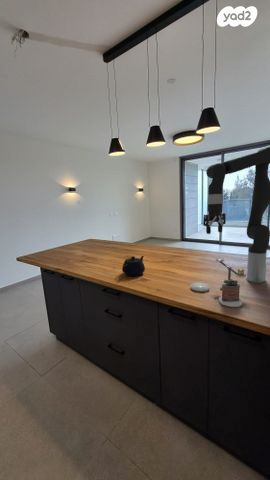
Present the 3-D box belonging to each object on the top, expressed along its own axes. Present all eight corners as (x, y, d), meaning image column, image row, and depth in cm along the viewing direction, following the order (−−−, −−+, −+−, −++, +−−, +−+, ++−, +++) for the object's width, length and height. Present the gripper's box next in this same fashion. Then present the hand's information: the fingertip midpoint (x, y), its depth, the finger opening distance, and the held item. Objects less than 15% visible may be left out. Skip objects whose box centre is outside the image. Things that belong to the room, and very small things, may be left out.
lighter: (237, 298, 101) (238, 278, 99) (240, 301, 97) (241, 280, 96) (220, 298, 101) (221, 278, 99) (223, 302, 98) (223, 281, 96)
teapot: (133, 281, 132) (132, 262, 130) (114, 277, 141) (113, 259, 139) (153, 269, 153) (152, 253, 150) (135, 266, 161) (134, 251, 159)
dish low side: (228, 296, 106) (228, 293, 106) (247, 304, 97) (247, 301, 97) (214, 301, 102) (214, 298, 101) (232, 310, 93) (232, 307, 93)
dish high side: (200, 283, 124) (200, 281, 123) (213, 289, 115) (213, 287, 115) (186, 287, 119) (186, 284, 119) (199, 293, 111) (199, 291, 110)
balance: (219, 284, 122) (219, 258, 119) (247, 295, 106) (248, 265, 104) (212, 286, 120) (213, 259, 117) (240, 297, 104) (241, 267, 101)
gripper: (219, 202, 120) (218, 231, 123) (199, 203, 114) (199, 233, 116) (230, 202, 113) (229, 232, 116) (210, 203, 107) (209, 235, 110)
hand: (214, 232), depth 116 cm, fingers open, 8 cm apart
